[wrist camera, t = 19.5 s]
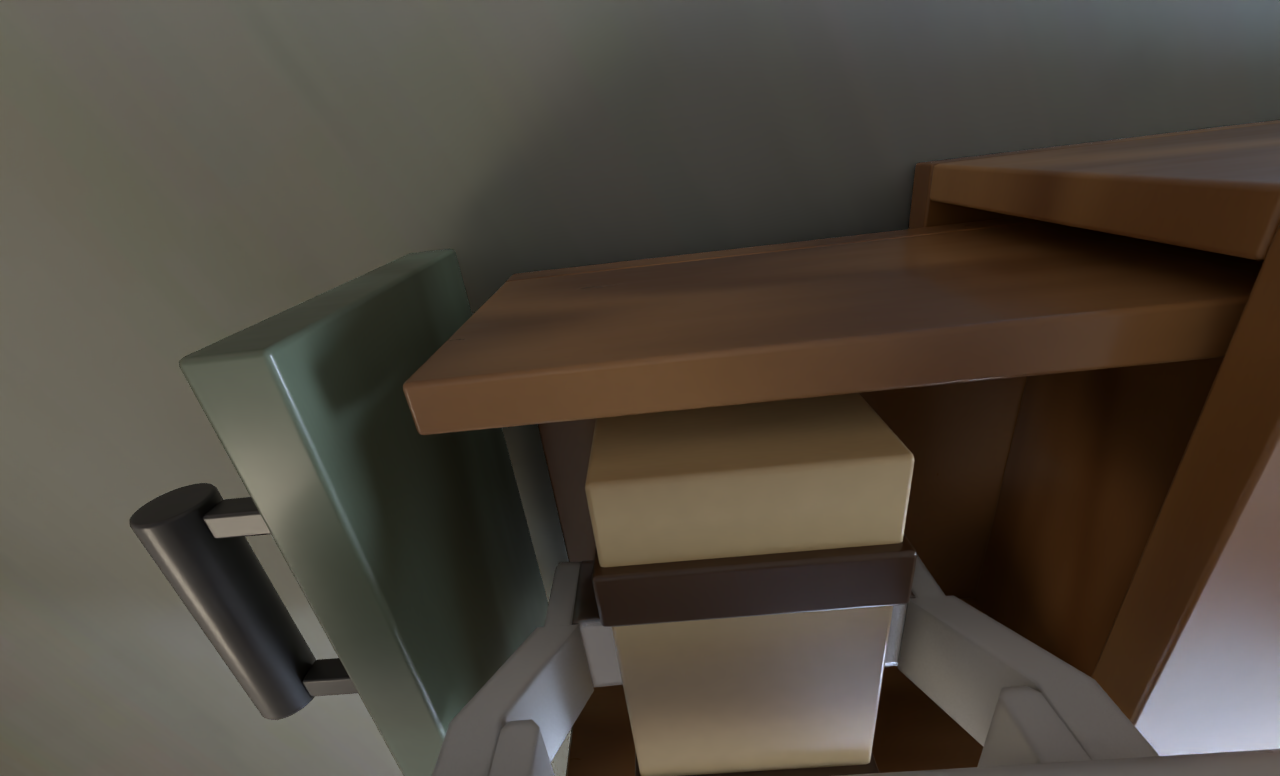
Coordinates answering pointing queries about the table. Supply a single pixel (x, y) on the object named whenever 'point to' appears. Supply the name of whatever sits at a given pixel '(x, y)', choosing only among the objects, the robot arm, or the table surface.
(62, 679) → the table surface
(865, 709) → the bundle
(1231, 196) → the cabinet
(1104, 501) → the drawer
